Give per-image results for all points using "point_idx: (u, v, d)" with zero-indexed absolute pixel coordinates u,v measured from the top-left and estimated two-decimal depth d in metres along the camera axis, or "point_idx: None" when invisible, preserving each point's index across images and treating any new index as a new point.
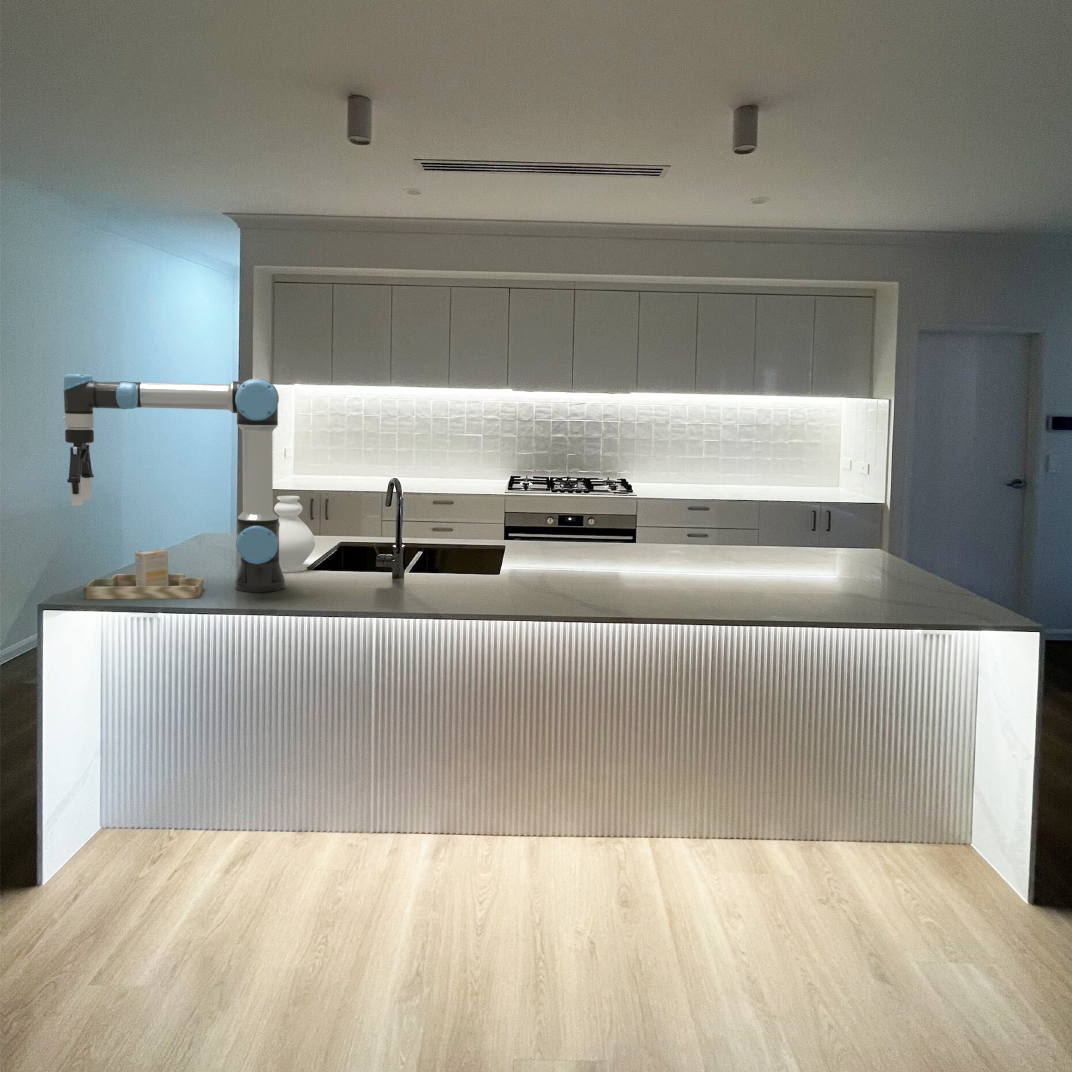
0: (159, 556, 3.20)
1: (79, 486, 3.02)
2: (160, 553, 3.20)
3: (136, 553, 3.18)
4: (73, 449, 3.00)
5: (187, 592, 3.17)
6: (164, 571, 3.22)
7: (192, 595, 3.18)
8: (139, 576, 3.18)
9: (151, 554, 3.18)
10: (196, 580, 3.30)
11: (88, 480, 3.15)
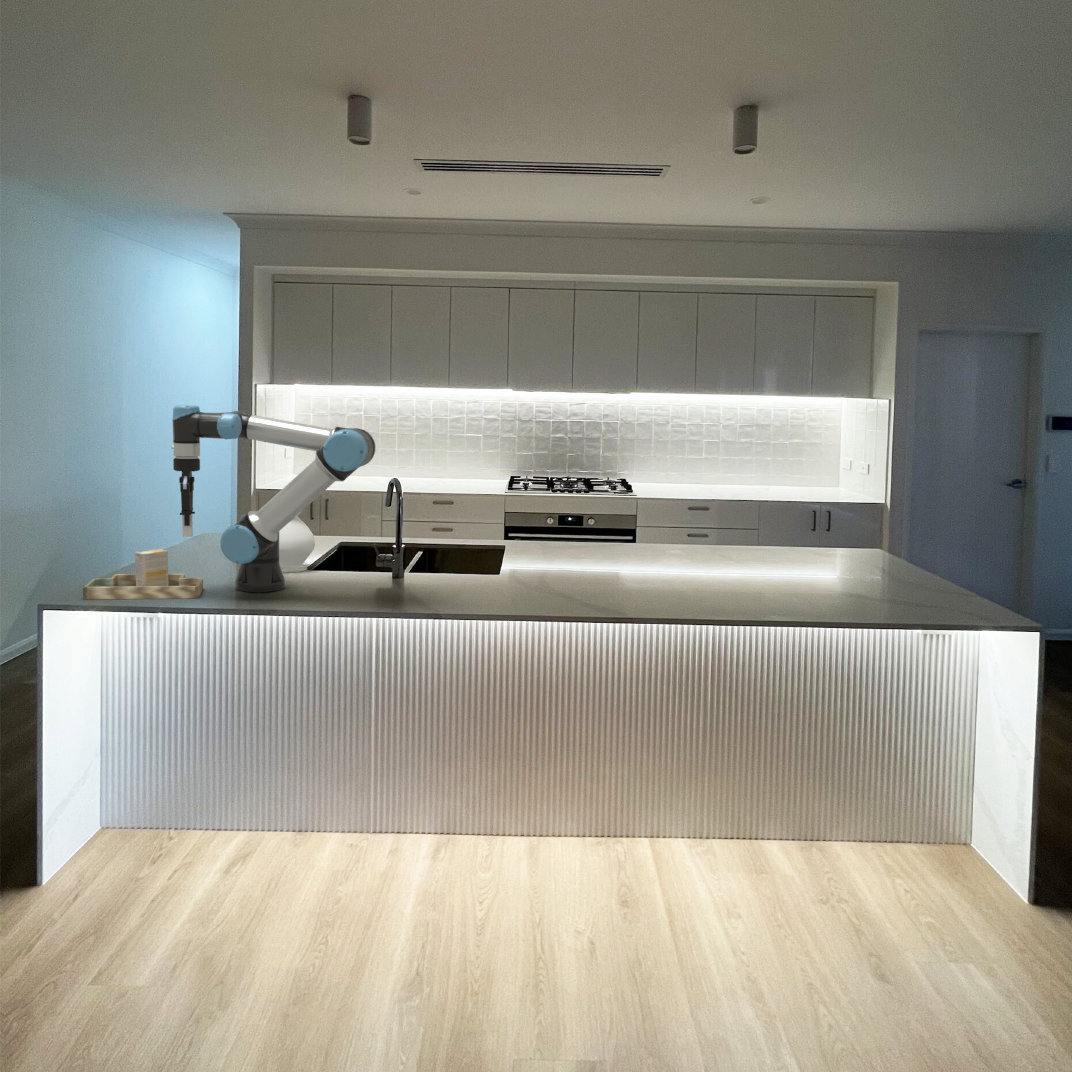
0: (159, 556, 3.20)
1: (190, 518, 3.21)
2: (160, 553, 3.20)
3: (136, 553, 3.18)
4: (183, 486, 3.14)
5: (187, 592, 3.17)
6: (164, 571, 3.22)
7: (192, 595, 3.18)
8: (139, 576, 3.18)
9: (151, 554, 3.18)
10: (196, 580, 3.30)
11: None
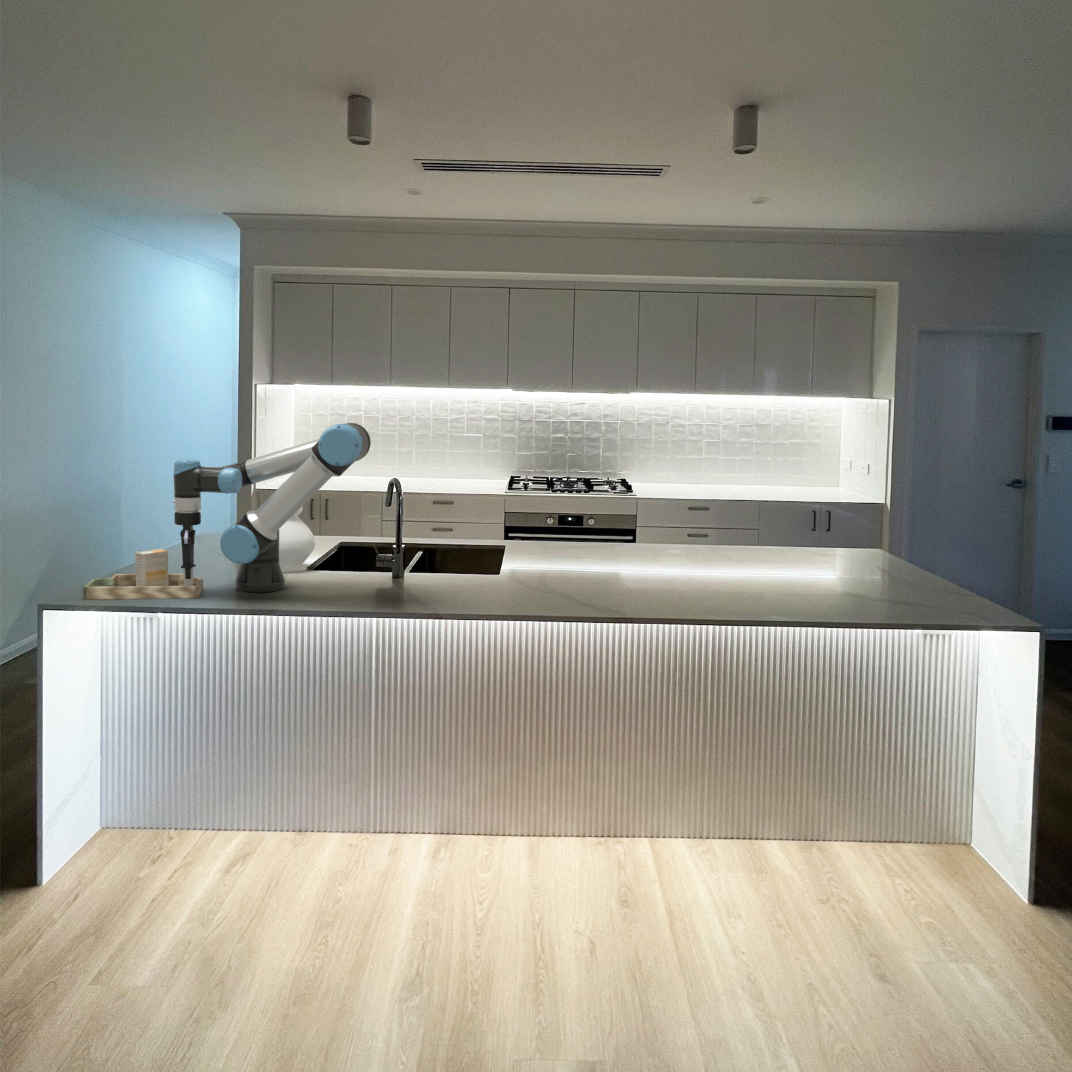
0: (159, 556, 3.20)
1: (191, 571, 3.23)
2: (160, 553, 3.20)
3: (136, 553, 3.18)
4: (184, 540, 3.16)
5: (187, 592, 3.17)
6: (164, 571, 3.22)
7: (192, 595, 3.18)
8: (139, 576, 3.18)
9: (151, 554, 3.18)
10: (196, 580, 3.30)
11: None
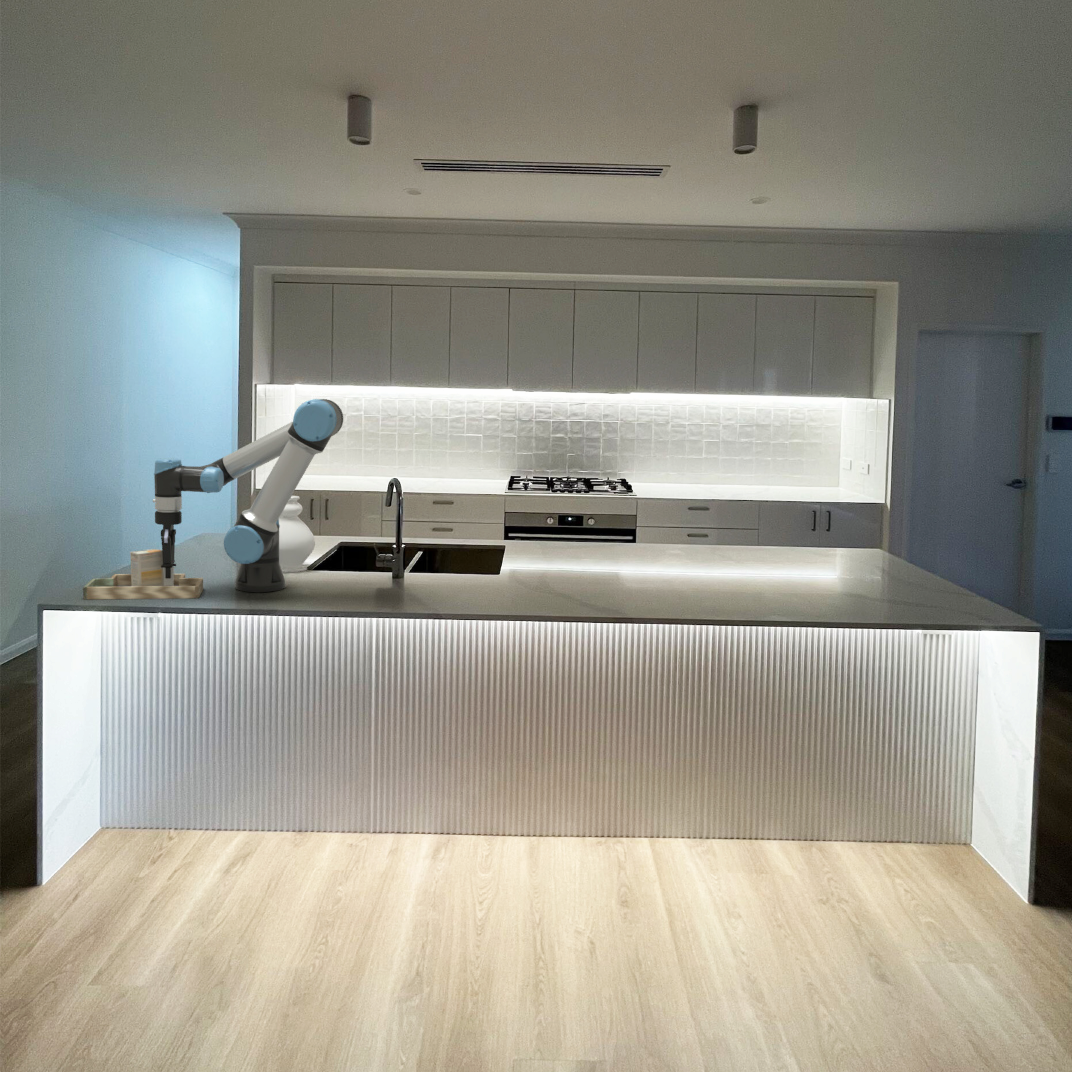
0: (154, 556, 3.20)
1: (171, 571, 3.22)
2: (155, 553, 3.20)
3: (131, 553, 3.18)
4: (164, 539, 3.15)
5: (187, 592, 3.17)
6: (160, 571, 3.22)
7: (192, 595, 3.18)
8: (134, 576, 3.18)
9: (146, 554, 3.18)
10: (196, 580, 3.30)
11: None
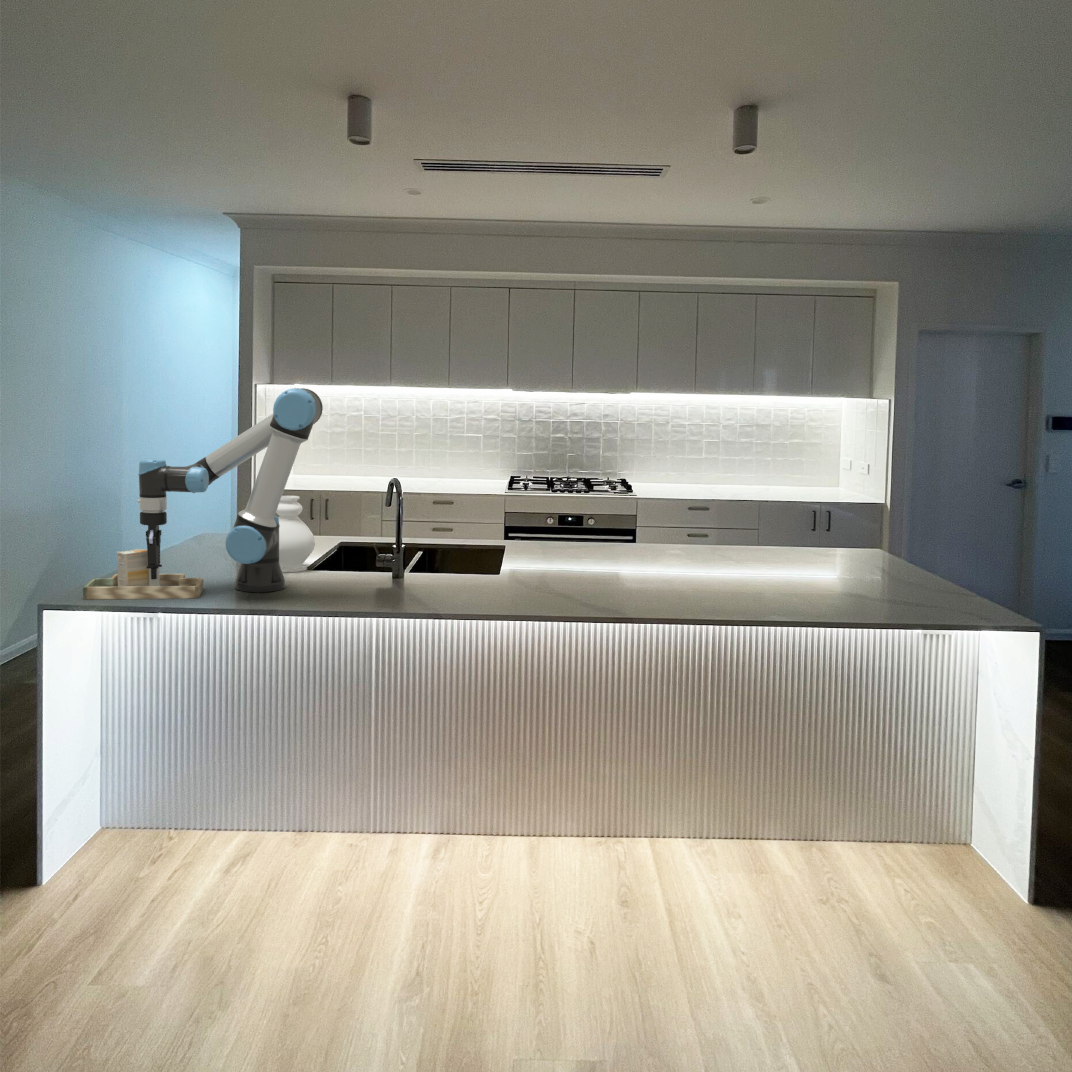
0: (141, 556, 3.19)
1: (157, 571, 3.21)
2: (142, 553, 3.19)
3: (118, 553, 3.17)
4: (149, 540, 3.14)
5: (187, 592, 3.17)
6: (146, 571, 3.21)
7: (192, 595, 3.18)
8: (121, 576, 3.17)
9: (133, 554, 3.17)
10: (196, 580, 3.30)
11: None
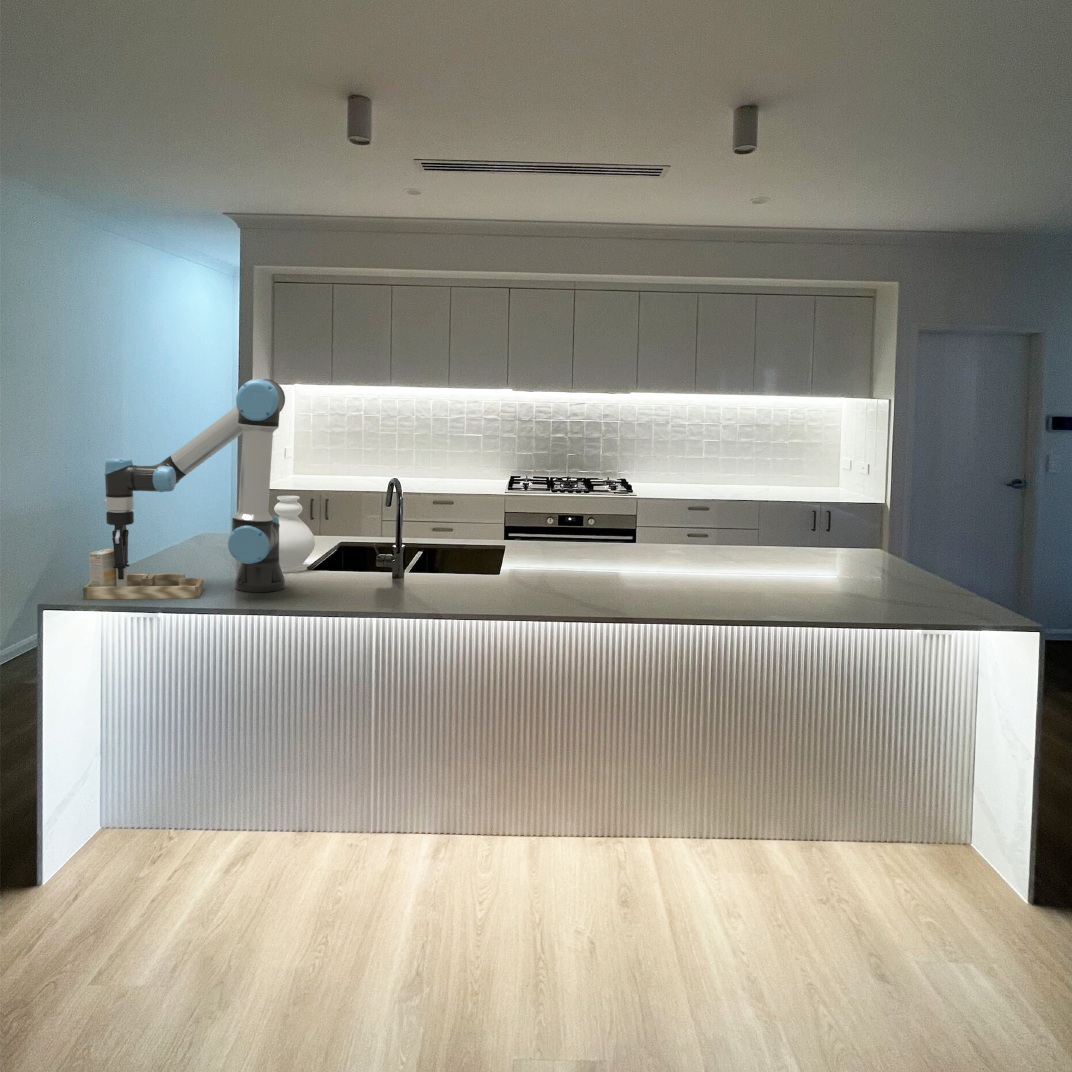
0: (113, 556, 3.18)
1: (124, 571, 3.19)
2: None
3: (91, 554, 3.14)
4: (115, 540, 3.12)
5: (187, 592, 3.17)
6: None
7: (192, 595, 3.18)
8: (95, 577, 3.15)
9: (107, 554, 3.16)
10: (196, 580, 3.30)
11: None
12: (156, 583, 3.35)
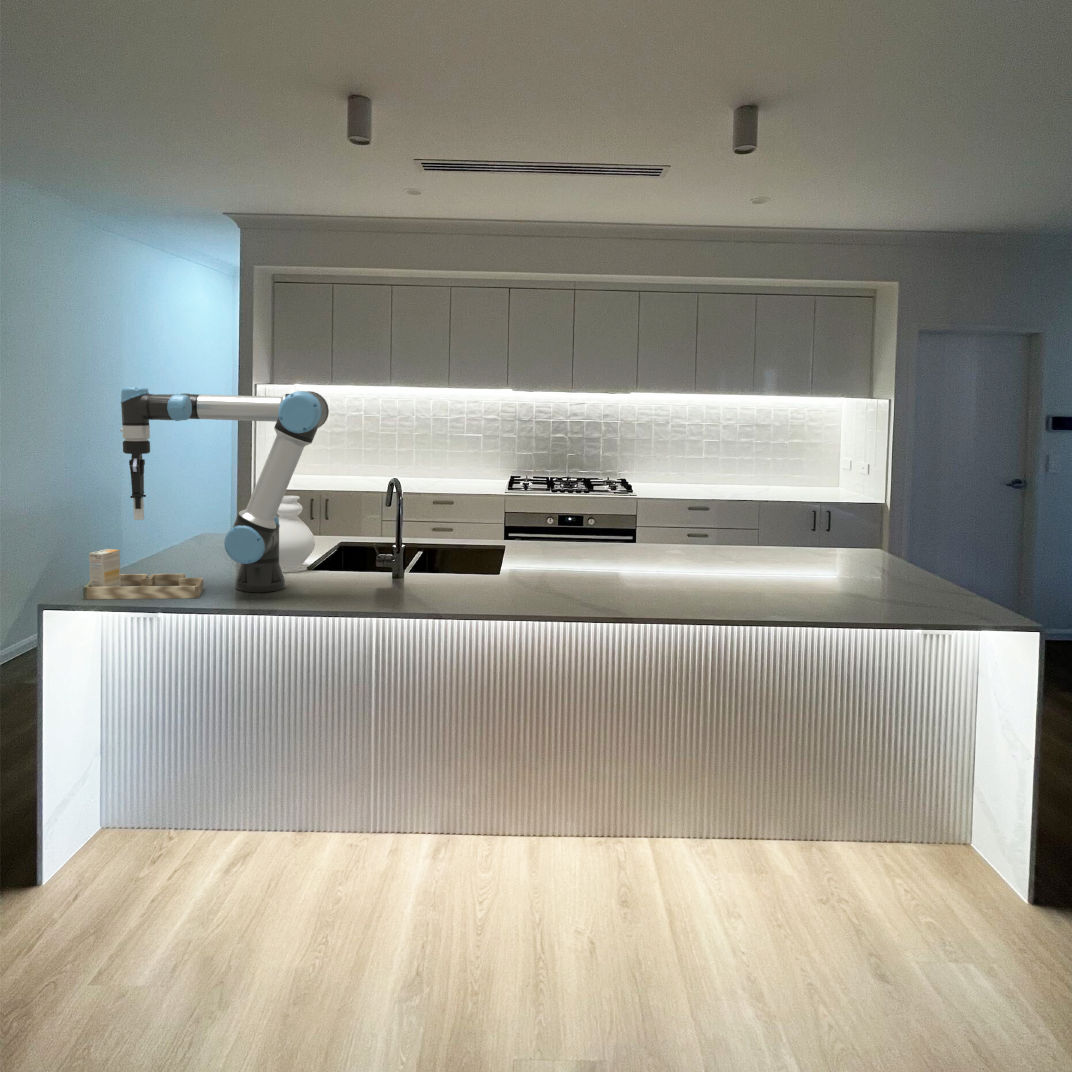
0: (113, 556, 3.18)
1: (141, 501, 3.18)
2: (114, 552, 3.19)
3: (91, 554, 3.14)
4: (133, 468, 3.12)
5: (187, 592, 3.17)
6: (117, 570, 3.21)
7: (192, 595, 3.18)
8: (96, 577, 3.15)
9: (108, 554, 3.16)
10: (196, 580, 3.30)
11: None
12: (156, 583, 3.35)
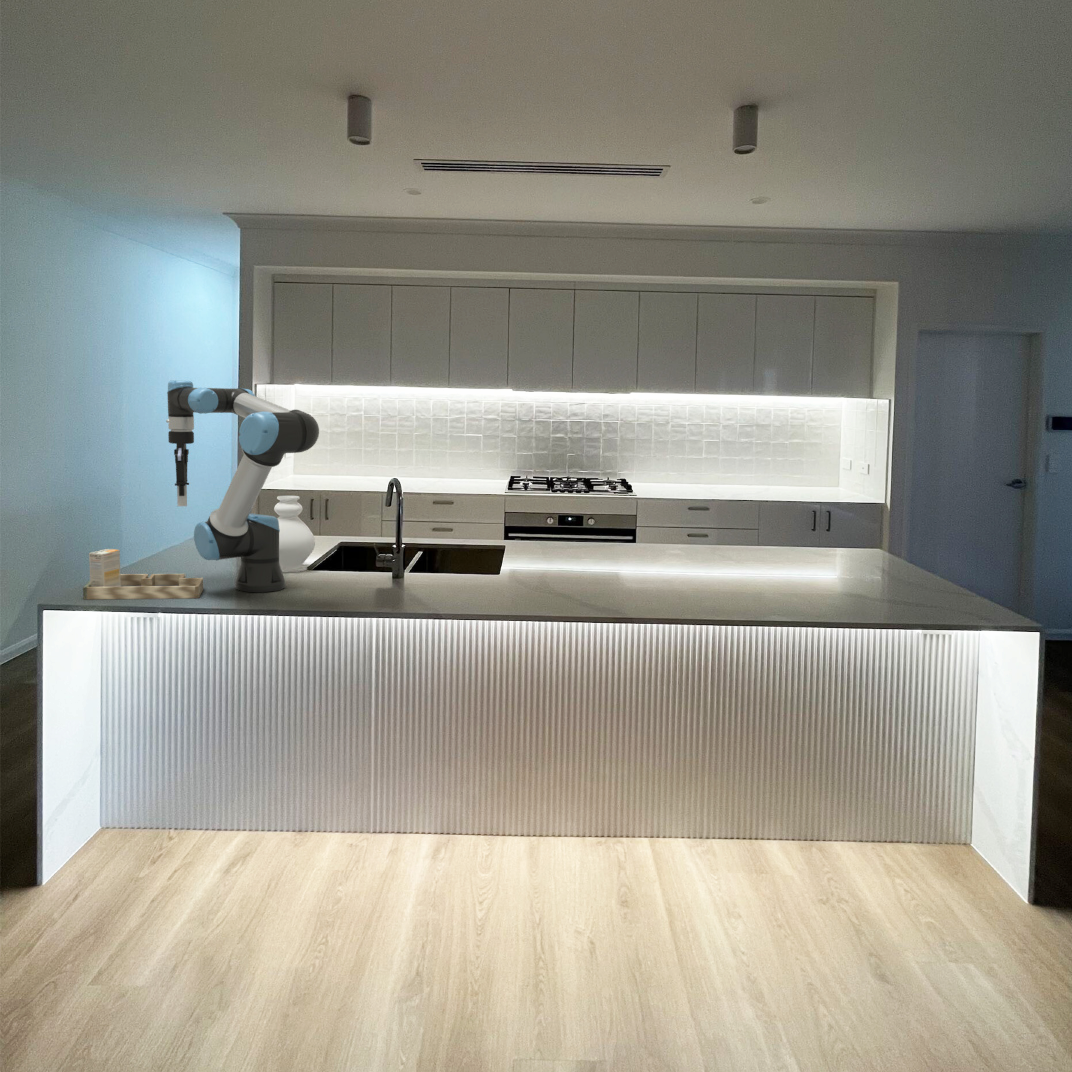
0: (113, 556, 3.18)
1: (185, 489, 3.36)
2: (114, 552, 3.19)
3: (91, 554, 3.14)
4: (177, 457, 3.29)
5: (187, 592, 3.17)
6: (117, 570, 3.21)
7: (192, 595, 3.18)
8: (96, 577, 3.15)
9: (108, 554, 3.16)
10: (196, 580, 3.30)
11: None
12: (156, 583, 3.35)
